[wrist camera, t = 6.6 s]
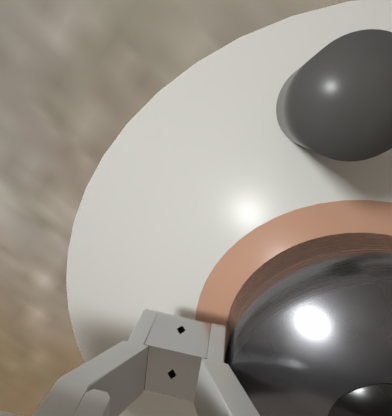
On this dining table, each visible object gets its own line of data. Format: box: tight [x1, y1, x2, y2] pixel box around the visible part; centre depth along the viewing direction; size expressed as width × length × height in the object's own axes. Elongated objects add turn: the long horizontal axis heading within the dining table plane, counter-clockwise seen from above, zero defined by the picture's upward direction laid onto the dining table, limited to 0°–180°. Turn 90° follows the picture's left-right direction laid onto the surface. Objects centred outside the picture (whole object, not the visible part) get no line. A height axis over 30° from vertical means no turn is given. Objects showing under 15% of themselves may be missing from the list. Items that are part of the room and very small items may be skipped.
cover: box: [224, 233, 392, 416], centre depth 9 cm, size 9×9×3 cm
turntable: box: [66, 0, 392, 416], centre depth 11 cm, size 22×22×6 cm
